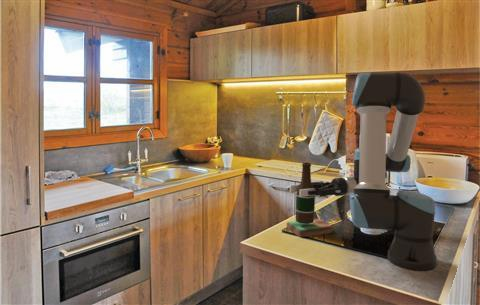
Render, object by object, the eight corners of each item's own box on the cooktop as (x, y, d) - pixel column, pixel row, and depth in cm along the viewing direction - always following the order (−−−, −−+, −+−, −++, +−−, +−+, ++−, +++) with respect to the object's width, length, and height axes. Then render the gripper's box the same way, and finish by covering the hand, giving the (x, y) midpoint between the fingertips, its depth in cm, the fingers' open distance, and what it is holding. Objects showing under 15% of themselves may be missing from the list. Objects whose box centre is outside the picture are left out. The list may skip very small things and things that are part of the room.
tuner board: (332, 232, 160) (332, 226, 159) (299, 237, 154) (300, 230, 154) (317, 224, 170) (317, 218, 169) (286, 228, 164) (286, 222, 164)
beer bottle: (301, 216, 165) (303, 160, 162) (317, 220, 160) (320, 162, 157) (291, 221, 159) (293, 163, 156) (308, 225, 155) (310, 165, 151)
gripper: (357, 201, 156) (307, 206, 148) (329, 189, 174) (283, 194, 166) (358, 182, 155) (308, 187, 146) (329, 173, 173) (283, 176, 165)
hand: (295, 190), depth 156 cm, fingers closed on beer bottle, 7 cm apart
